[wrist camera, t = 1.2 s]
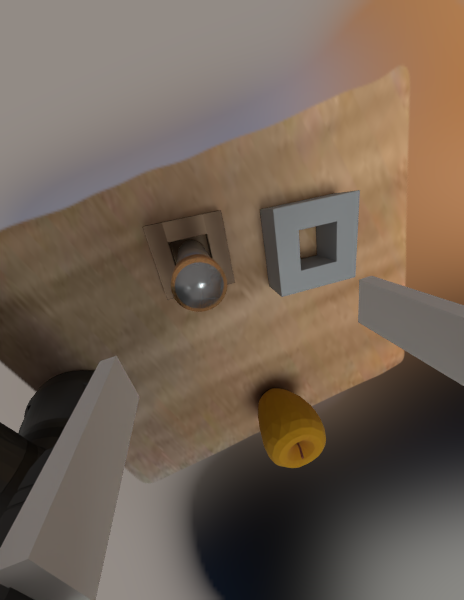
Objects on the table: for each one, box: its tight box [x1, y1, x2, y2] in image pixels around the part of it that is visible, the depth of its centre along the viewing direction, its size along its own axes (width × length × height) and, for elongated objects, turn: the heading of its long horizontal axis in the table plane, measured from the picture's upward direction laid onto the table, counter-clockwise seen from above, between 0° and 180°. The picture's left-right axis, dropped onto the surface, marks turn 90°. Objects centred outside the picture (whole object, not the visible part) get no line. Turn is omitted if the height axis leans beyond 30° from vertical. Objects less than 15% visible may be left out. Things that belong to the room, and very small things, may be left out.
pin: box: [171, 240, 227, 312], centre depth 25 cm, size 5×5×15 cm
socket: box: [260, 190, 360, 297], centre depth 32 cm, size 12×12×5 cm
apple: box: [258, 388, 326, 468], centre depth 40 cm, size 11×11×13 cm
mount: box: [143, 211, 235, 300], centre depth 30 cm, size 10×10×2 cm
